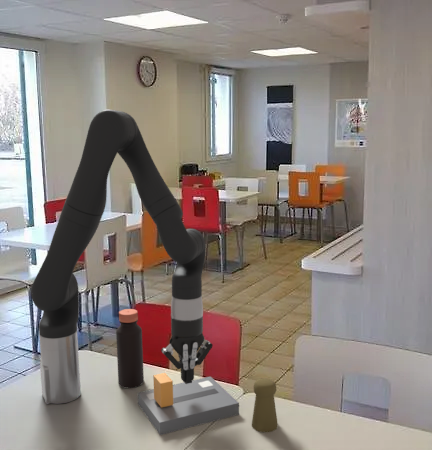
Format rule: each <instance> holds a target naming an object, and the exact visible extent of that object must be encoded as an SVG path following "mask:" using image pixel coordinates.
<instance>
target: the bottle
mask: <svg viewBox="0 0 432 450" xmlns="http://www.w3.org/2000/svg"><path fill="white" fill-rule="evenodd" d="M138 313H139V312H138V310H136V309H134V308H125V309H121V310H119V311H118V321H119V324H120V325H119V326H118V327H117V328H116V330H115V335H116V336H115V337H116V356H117V362H116V363H117V381H118V385H119V386H120V387H122V388H125V389H133V388H134V389H135V388H138V387H140V386H141V385H142V384H143V383H144V381H145V379H144V377H145V376H144V353H143V352H144V351H143V330H142V327H141V326H140V325H139V324H138V322H139V321H138V320H139V314H138Z"/></svg>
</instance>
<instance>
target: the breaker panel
mask: <svg viewBox="0 0 432 450" xmlns="http://www.w3.org/2000/svg"><path fill="white" fill-rule="evenodd" d="M136 393H137V405H138V406H139V407H140V409H141V410H142V412H143V413H144V415H145V416H146V417H147V419H148V420H149V421H150V423H151V425H152V426H153V427H154V429H155V430H156V431H157V433H158V434H159V436H162V435H165V434H168V433H174V432H176V431H181V430H184V429H188V428H189V429H190V428H192V427H196V426H201V425H203V424H207V423H212V422H214V421H215V422H216V421H219V420H224V419H226V418H231V417H235V416H238V415H240V402H239V401H237V399H236V398H234V397H233V396H232V395H231V394H230V393H229V392H228V391H227V390H226V389H225V388H224V387H222V386H221V384H220V383H218V382H217V381H216V380H215V379H214V378H213V377H212V376H206V377H202V378H198V379H193V380H192V383H188V384H185V382H183V381H182V382H179V383H174V384H173V405H170V406H166V407H162V408H161V407H160V405H159V404H158V403H157V402H156V400H155V399H154V388H152V389H149V390H148V389H146V390H144V391H138V392H136Z"/></svg>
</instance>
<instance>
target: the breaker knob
mask: <svg viewBox="0 0 432 450" xmlns="http://www.w3.org/2000/svg"><path fill="white" fill-rule="evenodd" d="M173 382H174V381H173V380H172V378H170V376H168V374H167V373H166V372H163V373H158V374H157V373H156V374H153V389H154V399H155V400H156V402H157V403H158V404H159V405H160V407H161V408H162V407H166V406H170V405H173V385H174V384H173Z"/></svg>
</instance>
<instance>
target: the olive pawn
mask: <svg viewBox="0 0 432 450" xmlns="http://www.w3.org/2000/svg"><path fill="white" fill-rule="evenodd" d="M253 392H254V394H255V397H254V398H255V399H254V405H253V413H252V420H251V427H252V430H253V429H254V430H255V431H257V432H260V433H271V432H272V433H273V432H274V431H276V430H278V427H279V423H278V416H277V408H276V403H275V394H276V392H277V385H276V383H275V381H274V380H273V379H271V378H267V377H264V378H258V379H256V380H255V382H254V383H253Z"/></svg>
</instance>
